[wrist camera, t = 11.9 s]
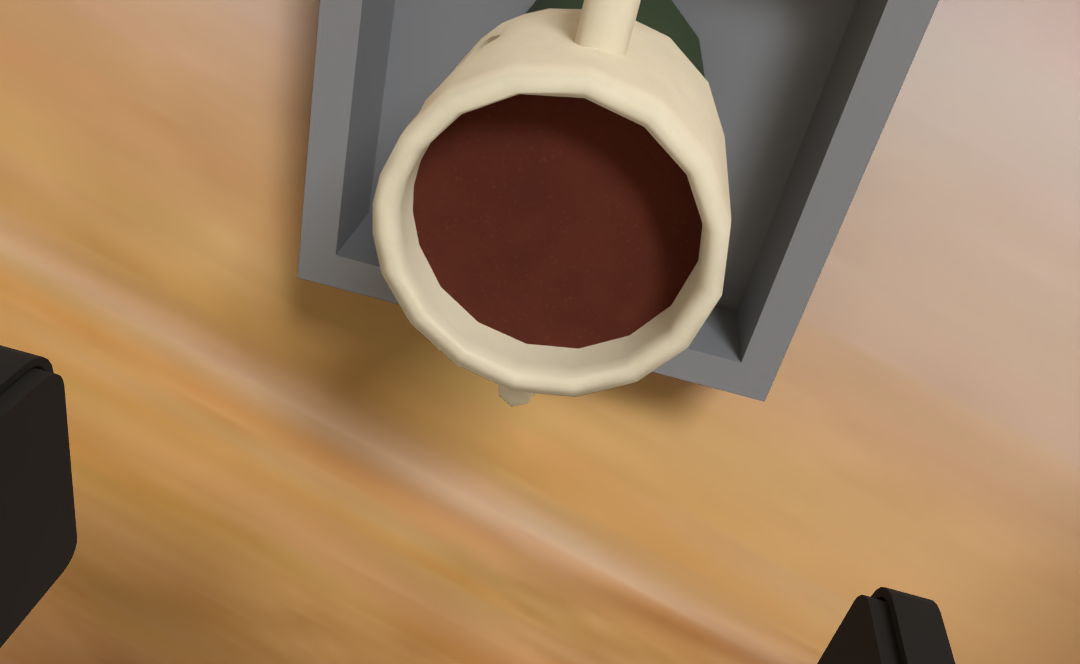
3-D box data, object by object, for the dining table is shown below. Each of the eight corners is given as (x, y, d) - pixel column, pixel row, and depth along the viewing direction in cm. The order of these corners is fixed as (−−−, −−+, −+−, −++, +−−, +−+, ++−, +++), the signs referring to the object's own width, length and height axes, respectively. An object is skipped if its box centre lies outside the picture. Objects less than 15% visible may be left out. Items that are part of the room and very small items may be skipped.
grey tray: (954, -139, 25) (994, -129, 21) (757, 339, 33) (764, 401, 30) (392, -283, 25) (344, -295, 22) (338, 228, 34) (297, 277, 30)
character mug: (530, -142, 26) (406, -96, 15) (772, -80, 26) (829, 13, 15) (467, 201, 32) (343, 419, 21) (664, 253, 32) (647, 500, 20)
